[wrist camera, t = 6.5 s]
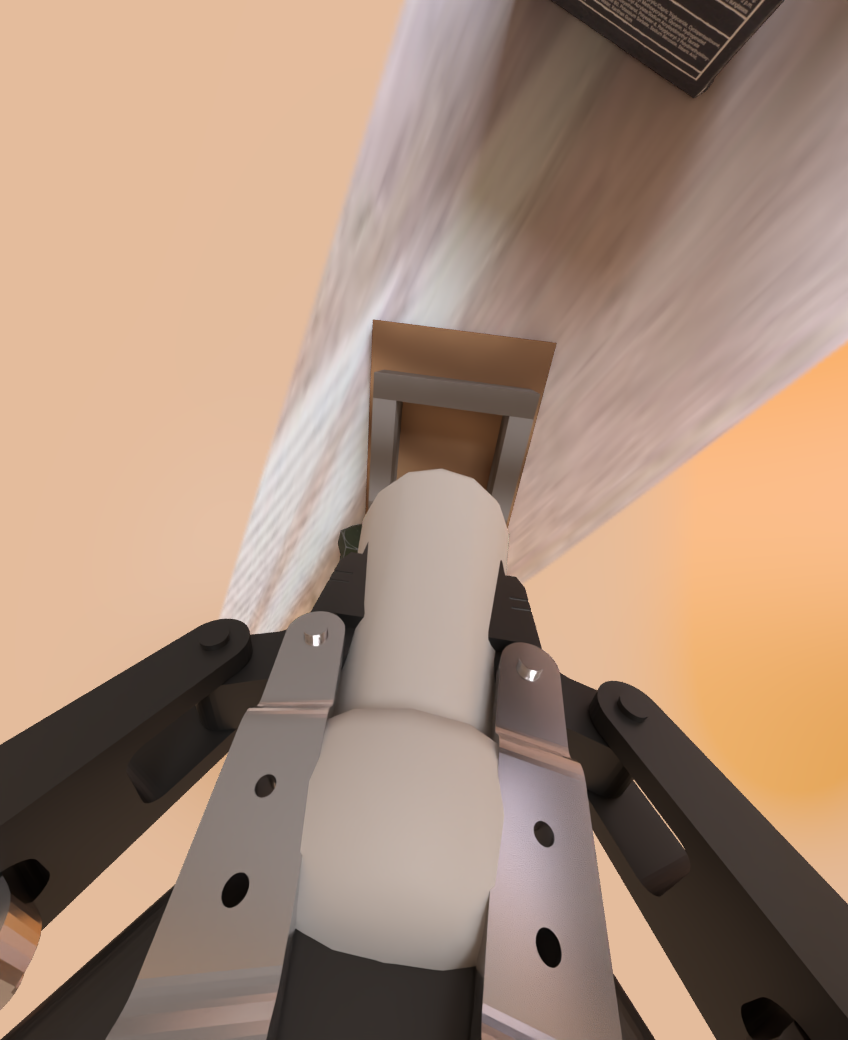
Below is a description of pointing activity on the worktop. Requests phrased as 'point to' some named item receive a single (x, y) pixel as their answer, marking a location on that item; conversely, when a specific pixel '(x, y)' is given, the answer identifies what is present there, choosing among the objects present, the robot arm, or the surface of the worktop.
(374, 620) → the salt shaker
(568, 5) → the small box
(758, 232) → the worktop surface
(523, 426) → the socket board
